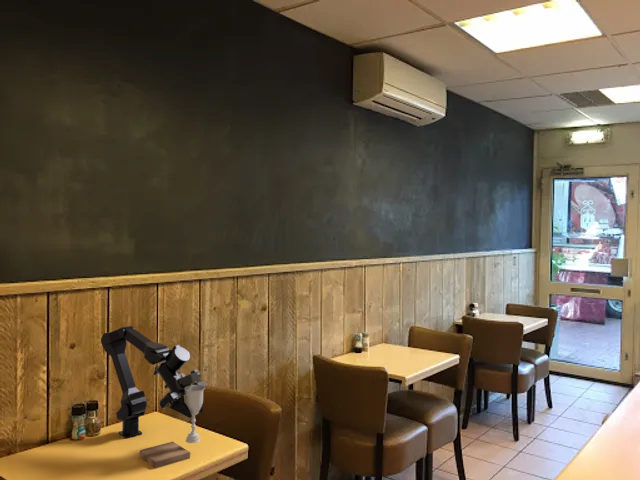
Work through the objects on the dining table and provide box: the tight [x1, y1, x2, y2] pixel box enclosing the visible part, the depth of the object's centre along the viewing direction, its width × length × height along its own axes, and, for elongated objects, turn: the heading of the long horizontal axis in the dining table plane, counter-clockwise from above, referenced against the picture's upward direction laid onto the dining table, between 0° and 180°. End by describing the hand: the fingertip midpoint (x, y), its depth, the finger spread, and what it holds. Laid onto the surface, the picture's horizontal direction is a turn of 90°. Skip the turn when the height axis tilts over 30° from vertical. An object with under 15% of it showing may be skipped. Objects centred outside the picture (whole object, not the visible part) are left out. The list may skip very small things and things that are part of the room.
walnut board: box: [139, 441, 191, 469], centre depth 182 cm, size 12×12×2 cm
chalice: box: [184, 384, 206, 444], centre depth 187 cm, size 7×7×18 cm
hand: (196, 414), depth 186 cm, fingers closed on chalice, 6 cm apart
